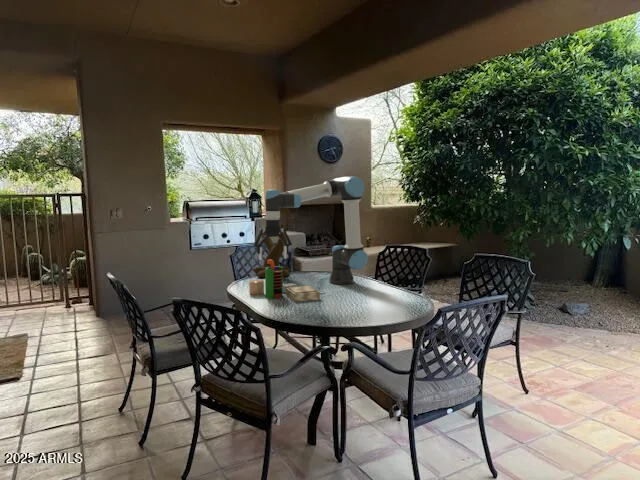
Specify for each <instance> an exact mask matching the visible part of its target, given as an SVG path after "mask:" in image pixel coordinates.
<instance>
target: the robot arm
mask: <svg viewBox="0 0 640 480" xmlns="http://www.w3.org/2000/svg"><path fill="white" fill-rule="evenodd" d="M364 191H365V183H364V182H363V180H362V178H360V177H358V176H353V175H351V176H350V175H349V176H340V177H336V178H333V179H329V180H326V181H325V180H324V182H323V183H319V184H315V185H311V186H306V187H302V188H298V189H293V190H290V191H289V190H288V191H284V192H281V190H280V189H267V190H266V191H265V197H264V199H265V200H264V201H265V228H262V227H261V228H259V233H258V235H257V236H256V239H255V240H254V243H253V247H256V252H257V254H258V260H259V261H262V258H263V256H262V252H263V251H262V249H263V248H262V245H263V244H264V242H265V240H266V239H267V238H268V237H270V238H278V239H280V240H281V241H282V242H283V243H284V245H285V246H284V249H283V259H285V260H287V257H288V255H287V254H288V253H289V247H291V246H292V245H293V243H292V242H291V239H290V237H289V236H288V233H287V230H286V227H285V228H282V229H280V227H281V220H280V218H281V208H282V209H284V208H285V209H286V208H288V209H289V208H290V209H295V208H296V209H297V208H299V207H301V205H302V203H303V202H307V201H311V200H315V199H320V198H324V197H327V198H331V197H332V198H333V197H340V201H341V202H342V203H343V209H344V211H343V212H344V227H345V245H343V244H341V245H333V246H332V248H331V249H332V250H331V253H332V254H331V255H332V256H331V259H332V260H331V264H332V265H331V267H332V268H331V269H332V270H331V272H330V276H329V283H330V284H333V285H349V284H350V285H351V284H353V283H354V281H355V280H354V279H355V278H354V275H353V273H352V270H356V271H358V270H362V269H364V268H365V266H366V265H367V263H368V261H369V255H368V253H367V252H366V251H365V250H364V247H365V246H364V245H363V244H362V239H361V221H360V219H361V218H360V202H361V201H362V196H363V194H364ZM264 231H265V232H266V235H265V236H264V237H263V239H262V233H264ZM280 231H282V232H283V234H284V236H285V238H286V240H287V242H286V241H285V240H284V239H283V238H282V237H281V235H280Z"/></svg>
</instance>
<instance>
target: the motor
mask: <svg viewBox="0 0 640 480" xmlns="http://www.w3.org/2000/svg"><path fill="white" fill-rule="evenodd" d="M267 264H271V267H266V268H265V278H264V279H265V281H264V294H265V295H264V296H265V298H266V299H269V300H274V299H281V298H283V296H284V295H283V294H284V293H283V285H284V284H283V282H284V281H283V280H284V279H283V278H284V277H283V267H278V266H274V261H273V260H267Z"/></svg>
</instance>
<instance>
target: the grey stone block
mask: <svg viewBox="0 0 640 480" xmlns="http://www.w3.org/2000/svg"><path fill="white" fill-rule="evenodd" d="M289 287H298V284H296V283H292V282H291V283H286V284H283V294H286V288H289Z"/></svg>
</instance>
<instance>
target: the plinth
mask: <svg viewBox="0 0 640 480" xmlns="http://www.w3.org/2000/svg"><path fill="white" fill-rule="evenodd" d="M285 294H286V295H285V296H287V297H288V298H289V299H290V300H291V301H293V302H305V301H317V300H320V298H321V292H320V290H317V289H316V288H314V287H312V286H311V285H303V286H297V287H289V288H286V293H285Z"/></svg>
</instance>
